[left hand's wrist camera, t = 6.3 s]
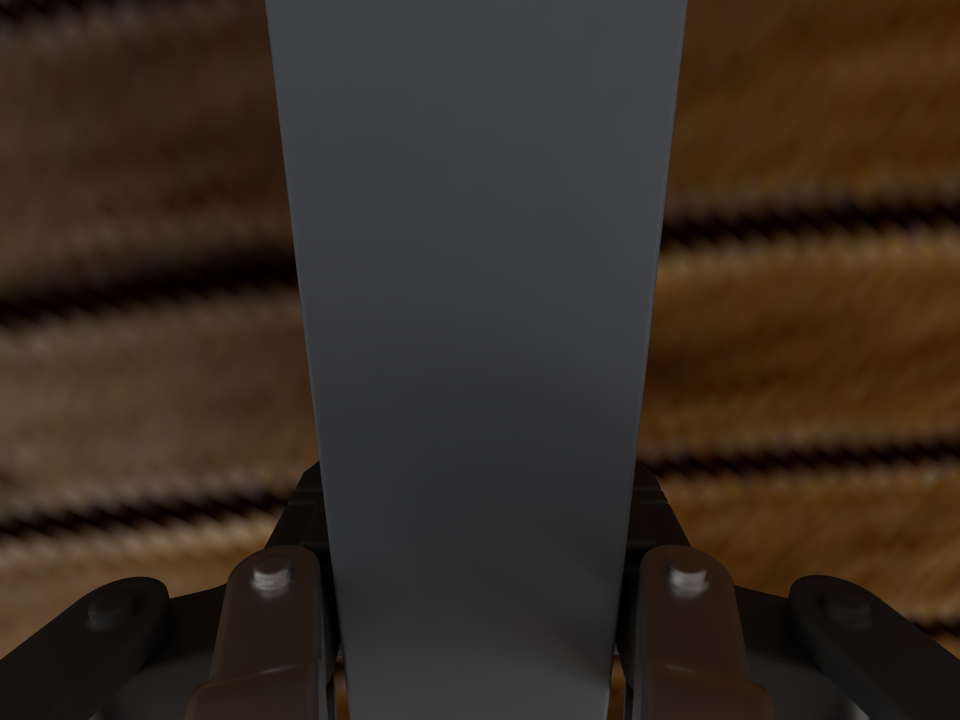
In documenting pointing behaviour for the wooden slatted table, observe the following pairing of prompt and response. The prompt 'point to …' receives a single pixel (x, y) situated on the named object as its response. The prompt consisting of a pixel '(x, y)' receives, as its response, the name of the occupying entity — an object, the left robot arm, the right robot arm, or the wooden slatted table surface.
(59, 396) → the wooden slatted table surface
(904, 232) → the wooden slatted table surface
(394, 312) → the beam
